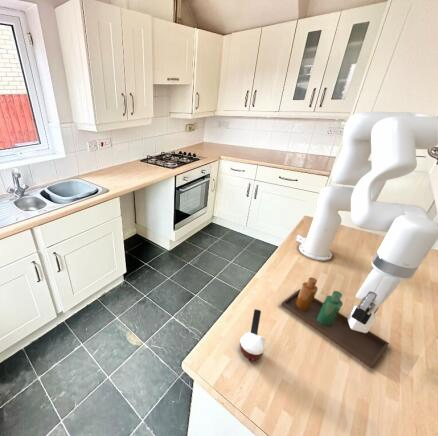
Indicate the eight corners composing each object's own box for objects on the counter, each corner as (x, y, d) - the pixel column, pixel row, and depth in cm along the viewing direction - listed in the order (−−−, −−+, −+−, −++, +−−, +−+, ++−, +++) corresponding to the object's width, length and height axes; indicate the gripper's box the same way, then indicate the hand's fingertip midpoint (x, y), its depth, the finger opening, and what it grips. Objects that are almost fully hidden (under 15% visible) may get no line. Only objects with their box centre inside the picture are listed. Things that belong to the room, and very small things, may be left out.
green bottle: (313, 319, 78) (326, 292, 72) (320, 313, 80) (333, 286, 74) (328, 328, 75) (342, 301, 69) (334, 322, 77) (349, 295, 71)
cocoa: (254, 372, 64) (263, 343, 59) (232, 356, 68) (239, 328, 63) (267, 347, 70) (277, 319, 65) (247, 334, 74) (254, 306, 68)
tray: (280, 306, 83) (282, 302, 82) (298, 293, 88) (300, 288, 87) (370, 369, 64) (373, 365, 63) (386, 347, 70) (389, 343, 69)
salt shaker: (350, 330, 69) (364, 306, 64) (346, 318, 72) (358, 295, 67) (367, 334, 67) (383, 310, 63) (362, 323, 71) (376, 299, 66)
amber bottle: (292, 304, 83) (302, 278, 77) (299, 299, 85) (309, 273, 79) (305, 313, 80) (316, 286, 74) (311, 307, 82) (323, 281, 76)
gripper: (387, 245, 65) (360, 294, 74) (360, 268, 57) (333, 320, 66) (425, 260, 60) (391, 310, 69) (401, 288, 52) (366, 341, 61)
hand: (363, 314), depth 67 cm, fingers closed on salt shaker, 5 cm apart
